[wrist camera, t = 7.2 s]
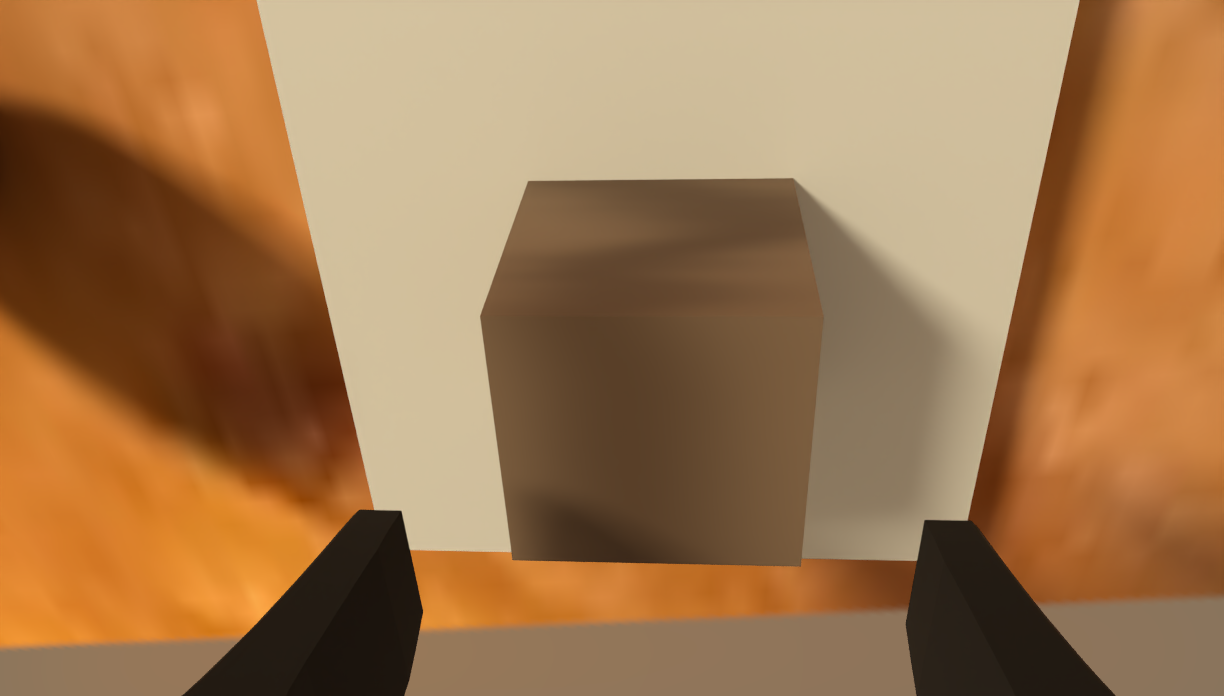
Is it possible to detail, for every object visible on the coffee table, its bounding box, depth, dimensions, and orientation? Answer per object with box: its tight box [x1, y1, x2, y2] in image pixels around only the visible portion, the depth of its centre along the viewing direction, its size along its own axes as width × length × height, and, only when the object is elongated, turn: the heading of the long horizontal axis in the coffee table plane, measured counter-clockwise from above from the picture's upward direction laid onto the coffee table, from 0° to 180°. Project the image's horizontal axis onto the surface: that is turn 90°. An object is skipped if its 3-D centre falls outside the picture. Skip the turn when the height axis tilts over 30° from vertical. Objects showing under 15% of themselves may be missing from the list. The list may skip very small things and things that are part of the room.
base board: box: [257, 0, 1080, 561], centre depth 21 cm, size 14×14×2 cm
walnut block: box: [480, 178, 824, 566], centre depth 17 cm, size 5×5×5 cm
